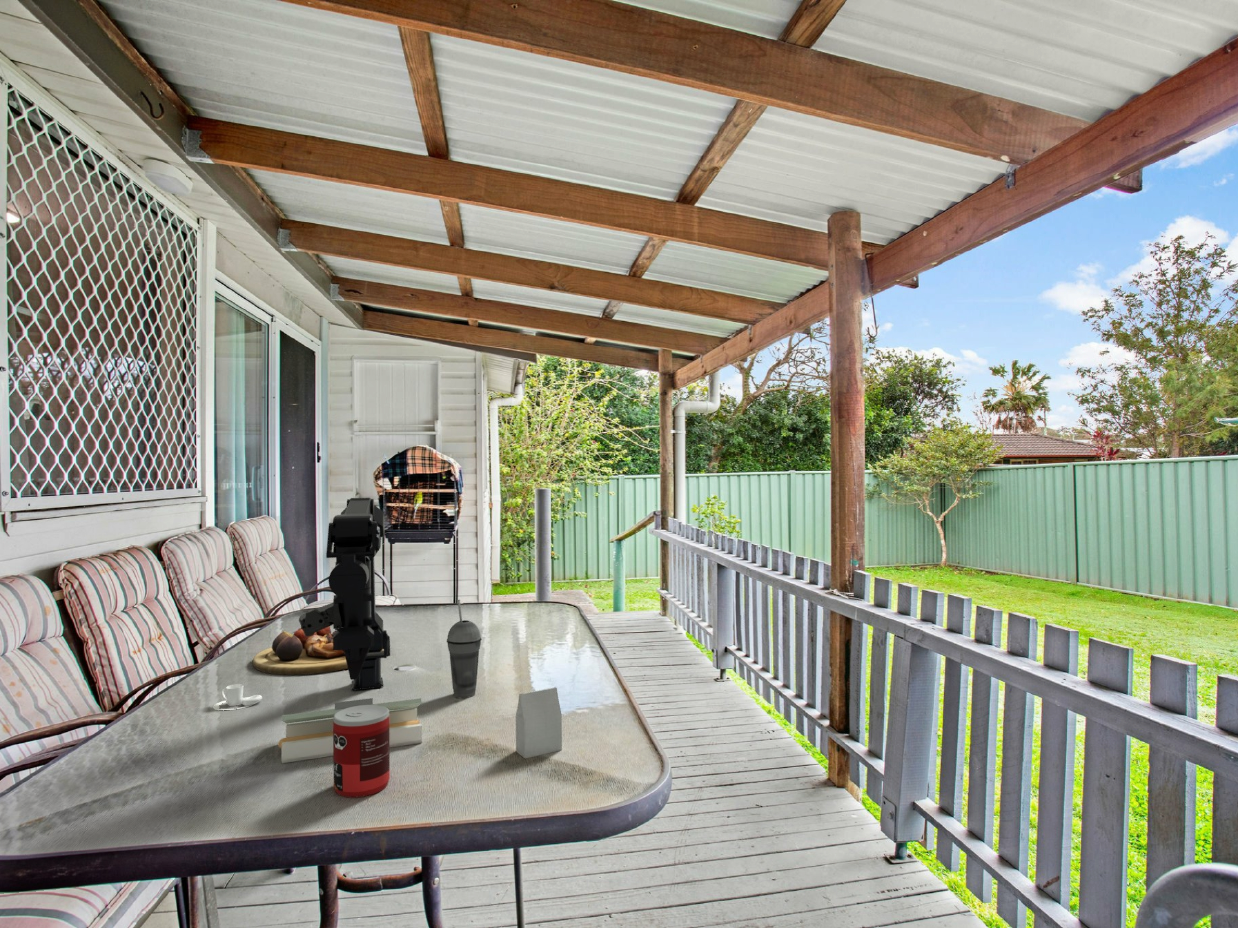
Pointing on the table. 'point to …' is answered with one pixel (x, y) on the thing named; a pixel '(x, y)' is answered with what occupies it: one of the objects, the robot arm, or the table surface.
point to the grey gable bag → (538, 723)
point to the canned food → (361, 750)
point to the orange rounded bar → (332, 733)
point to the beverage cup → (464, 656)
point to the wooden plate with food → (301, 654)
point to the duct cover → (347, 704)
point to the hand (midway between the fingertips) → (353, 678)
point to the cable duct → (325, 744)
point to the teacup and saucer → (237, 697)
